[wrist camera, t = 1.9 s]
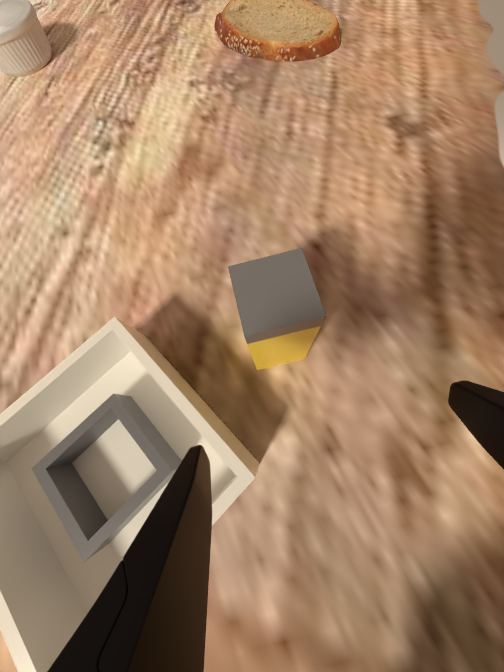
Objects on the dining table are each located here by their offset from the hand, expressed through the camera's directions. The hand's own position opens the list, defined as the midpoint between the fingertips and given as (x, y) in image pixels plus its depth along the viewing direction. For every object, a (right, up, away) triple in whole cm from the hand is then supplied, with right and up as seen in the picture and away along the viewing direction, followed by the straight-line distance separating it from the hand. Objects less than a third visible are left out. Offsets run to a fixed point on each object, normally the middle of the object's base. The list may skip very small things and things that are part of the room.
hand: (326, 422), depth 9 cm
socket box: (-13, -8, +12) cm, 20 cm away
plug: (-1, +3, +15) cm, 15 cm away
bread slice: (+1, +51, +31) cm, 60 cm away
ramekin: (-42, +51, +35) cm, 75 cm away
